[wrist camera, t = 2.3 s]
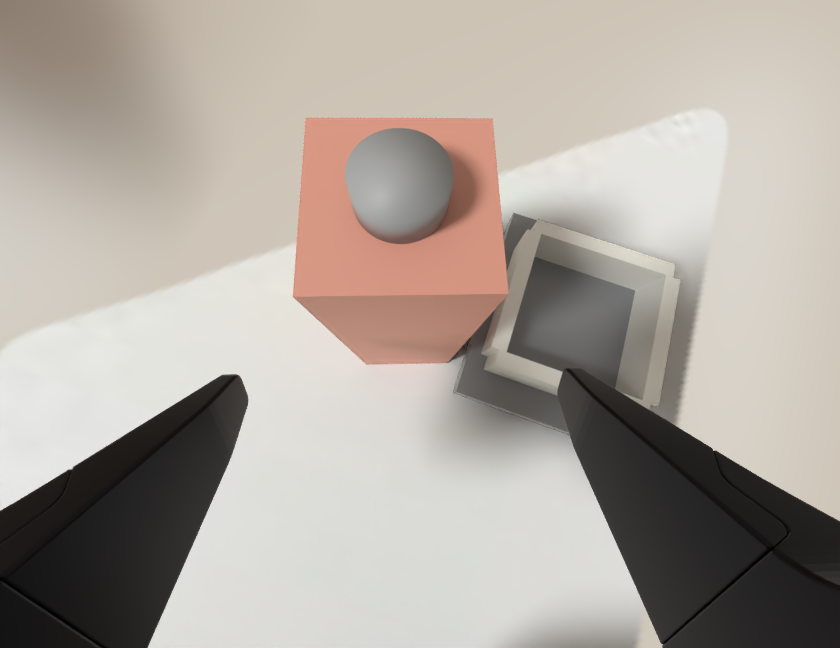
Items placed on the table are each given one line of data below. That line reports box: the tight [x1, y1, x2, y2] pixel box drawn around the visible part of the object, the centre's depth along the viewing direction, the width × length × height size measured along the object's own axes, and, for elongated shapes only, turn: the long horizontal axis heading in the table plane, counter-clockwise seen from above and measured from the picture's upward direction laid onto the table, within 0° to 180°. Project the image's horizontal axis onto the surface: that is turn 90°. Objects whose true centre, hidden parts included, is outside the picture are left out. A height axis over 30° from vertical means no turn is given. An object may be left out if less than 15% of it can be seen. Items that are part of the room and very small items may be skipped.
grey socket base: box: [453, 213, 681, 435], centre depth 19 cm, size 12×10×4 cm
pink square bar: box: [293, 118, 509, 364], centre depth 14 cm, size 5×5×14 cm
